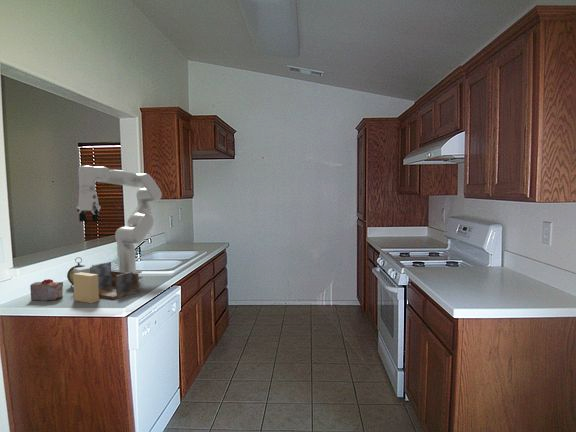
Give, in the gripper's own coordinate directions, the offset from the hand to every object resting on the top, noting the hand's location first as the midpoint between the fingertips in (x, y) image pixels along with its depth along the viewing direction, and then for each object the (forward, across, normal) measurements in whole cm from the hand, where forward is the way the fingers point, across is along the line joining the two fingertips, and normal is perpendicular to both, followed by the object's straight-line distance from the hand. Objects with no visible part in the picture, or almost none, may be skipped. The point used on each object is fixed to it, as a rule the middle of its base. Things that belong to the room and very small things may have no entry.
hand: (88, 221), depth 194 cm
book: (+37, -16, +15) cm, 43 cm away
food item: (+37, +4, +21) cm, 43 cm away
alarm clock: (+37, +12, -2) cm, 39 cm away
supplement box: (+37, 0, +4) cm, 37 cm away
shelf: (+37, -16, +1) cm, 40 cm away
